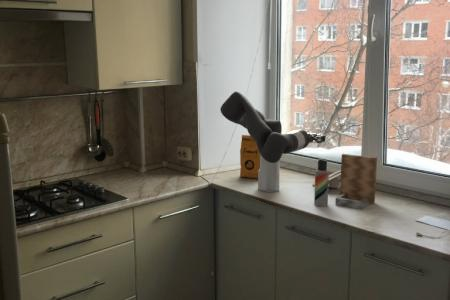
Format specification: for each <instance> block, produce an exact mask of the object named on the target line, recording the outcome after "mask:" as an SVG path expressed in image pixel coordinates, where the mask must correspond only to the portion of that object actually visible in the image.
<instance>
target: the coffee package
mask: <svg viewBox="0 0 450 300" xmlns="http://www.w3.org/2000/svg"><path fill="white" fill-rule="evenodd" d="M239 155H240V156H239V160H240V162H239V163H240V172H239V173H240V174H239V176H240V177H242V178H248V179H254V180H255V179H257V180H258V170H259V169H260V152H259V149H258V147H257V144H256V142H255V140H254V139H253V138H252V137H251V136H250V134H248V135H247V134H241V141H240V150H239Z"/></svg>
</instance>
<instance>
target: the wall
mask: <svg viewBox="0 0 450 300" xmlns="http://www.w3.org/2000/svg"><path fill="white" fill-rule="evenodd" d="M338 177H341V169H339V170H338V171H335V172H333V173H331V174H329V184H328V186H329V187H331V188H332V189H335V188H337V187H340V183H341V182H340V181H339V180H338ZM311 185H312V187H314V188H315V182H313V183H311Z"/></svg>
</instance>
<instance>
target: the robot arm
mask: <svg viewBox="0 0 450 300" xmlns="http://www.w3.org/2000/svg"><path fill="white" fill-rule="evenodd" d="M219 111H220V113H221V115H222V116H223V117H224V118H225V119H226V120H228V121H230V122H231V123H234V124H236V125H240V126H241V127H243V128H245V129H246V130H247V132H248V135H250V136H251V137H252V138H253V139H254V140H255V142H256V144H257V147H258V149H259V152H260V169H259V170H258V179H257V189H258V190H260V191H262V192H266V193H267V192H268V193H273V192H279V191H280V179H281V178H280V173H281V170H280V169H281V158H282V157H283V155H286V154H290V153H292V152H293V153H295V152H299V151H300V150H303V149H306V148H307V147H308V146H309V144H312V143H314V144H315V143H316V144H320V143H325V142H326V134H325V133H324V132H320V133H315V132H313V133H309V132H307V131H306V130H304V129H300V128H299V129H295V130H291V131H289V132H287V133H282V129H283V128H282V122H281V120H279V119H266V118H265V115H264V114H263V113H262V112H261V111H260V110H258V109H257V108H255V107H254V105H253V104H252V103H251V101H250V100H249V99H248V98H247V96H245V95H244V94H243V93H242V92H240V91H234V92H232V93H231V94H230V95H229V97H228V98H227V99H226V100H225V101H224V102H223V103H222V104H221V106H220V109H219Z"/></svg>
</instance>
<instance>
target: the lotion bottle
mask: <svg viewBox="0 0 450 300" xmlns="http://www.w3.org/2000/svg"><path fill="white" fill-rule="evenodd" d="M327 168H328V160H326V159H325V158H318V160H317V169H315V171H314V183H315V187H314V195H313V196H314V197H313V198H314V199H313V205H314V206H316V207H320V208H321V207H326V206H328V204H329V175H330V171H329V169H327Z"/></svg>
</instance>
